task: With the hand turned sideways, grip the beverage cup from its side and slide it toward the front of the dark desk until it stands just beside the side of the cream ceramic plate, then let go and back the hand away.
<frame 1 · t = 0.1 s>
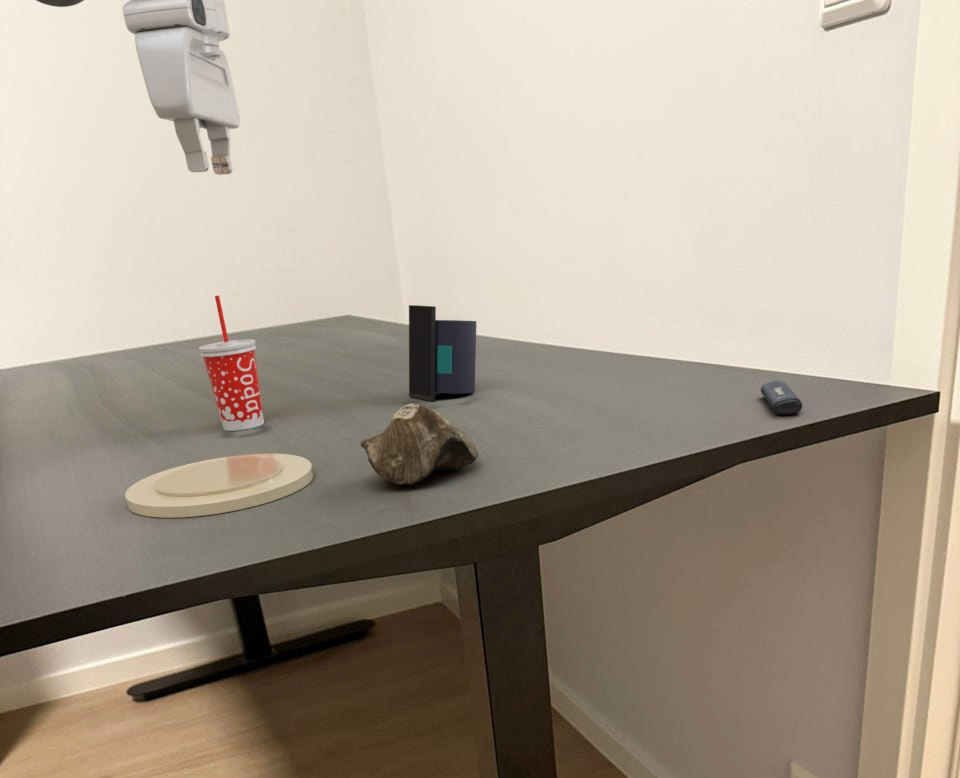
hand: (212, 173, 101), 26 cm above the table, tool pointing down, fingers open, 8 cm apart
beverage cup: (244, 427, 108), on the table
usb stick: (780, 407, 90), on the table
plate: (222, 488, 83), on the table
fossilized seashell: (424, 478, 80), on the table
speaker: (448, 395, 113), on the table
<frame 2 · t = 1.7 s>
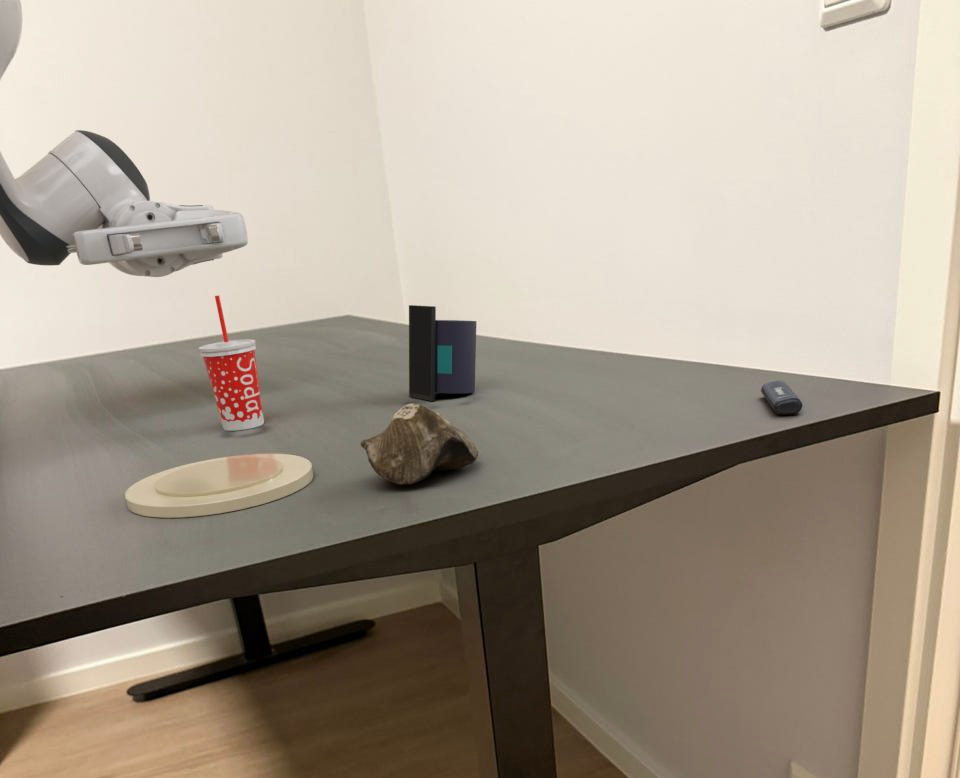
hand: (176, 237, 109), 20 cm above the table, tool horizontal, fingers open, 8 cm apart
nothing on the table moved.
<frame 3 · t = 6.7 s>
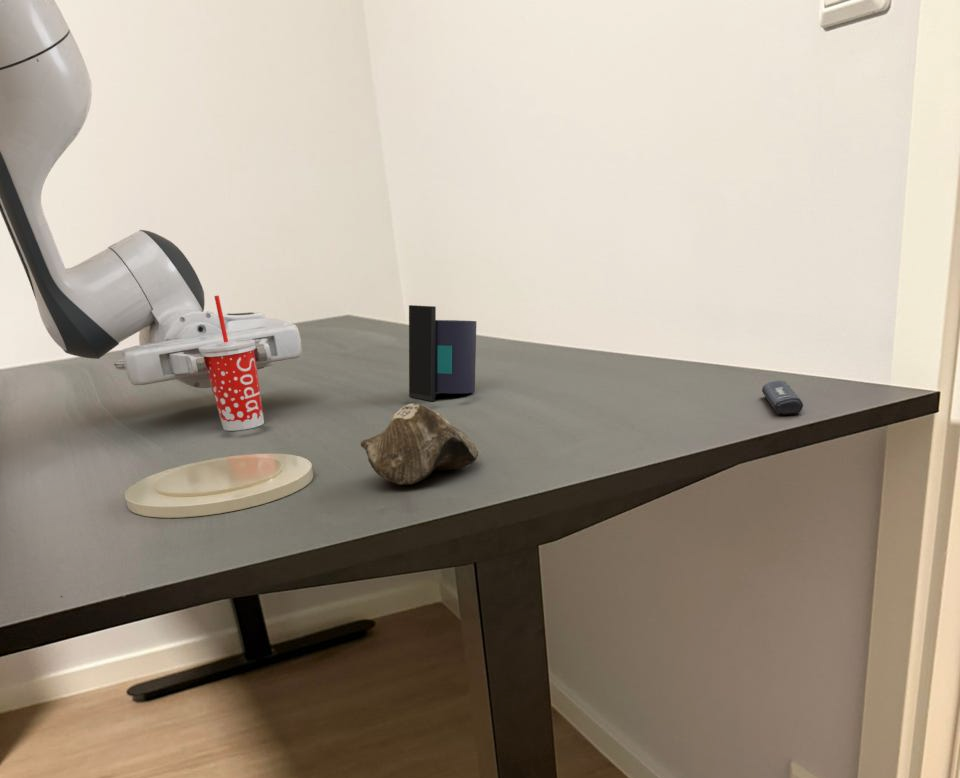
hand: (232, 358, 104), 8 cm above the table, tool horizontal, fingers closed on beverage cup, 6 cm apart
beverage cup: (244, 427, 108), on the table, touching gripper
everything else where it was.
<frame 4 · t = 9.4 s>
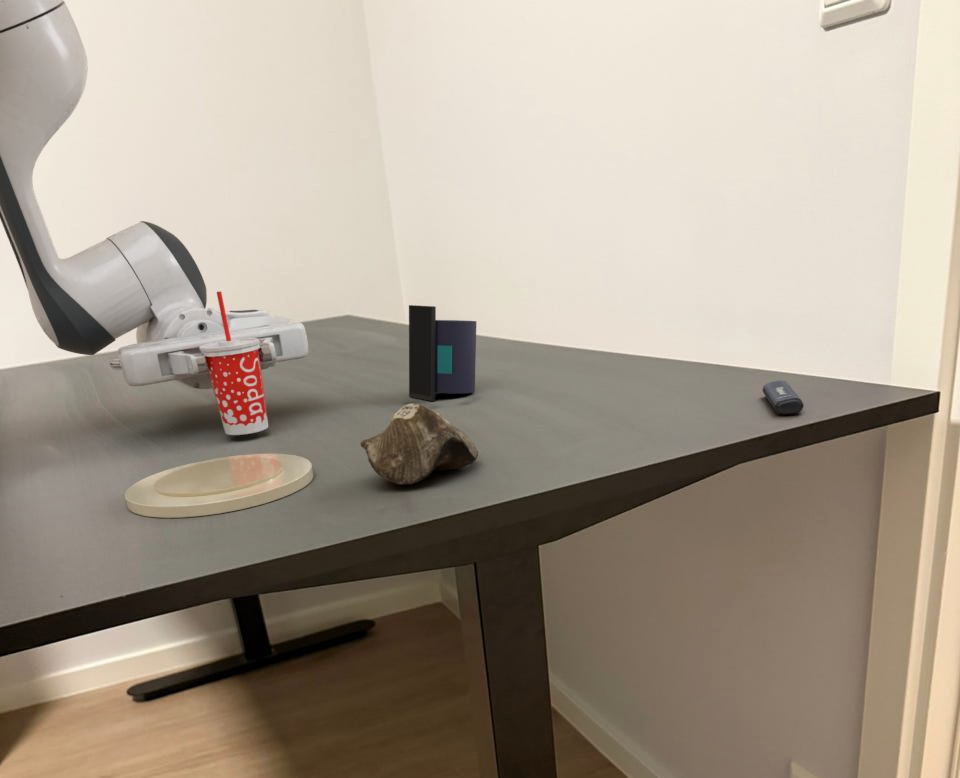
hand: (235, 358, 98), 8 cm above the table, tool horizontal, fingers closed on beverage cup, 6 cm apart
beverage cup: (247, 431, 102), point 1 cm above the table, touching gripper
everything else where it was.
when the fingers open (7 cm above the table, at t = 12.3 s): beverage cup stays where it is, on the table.
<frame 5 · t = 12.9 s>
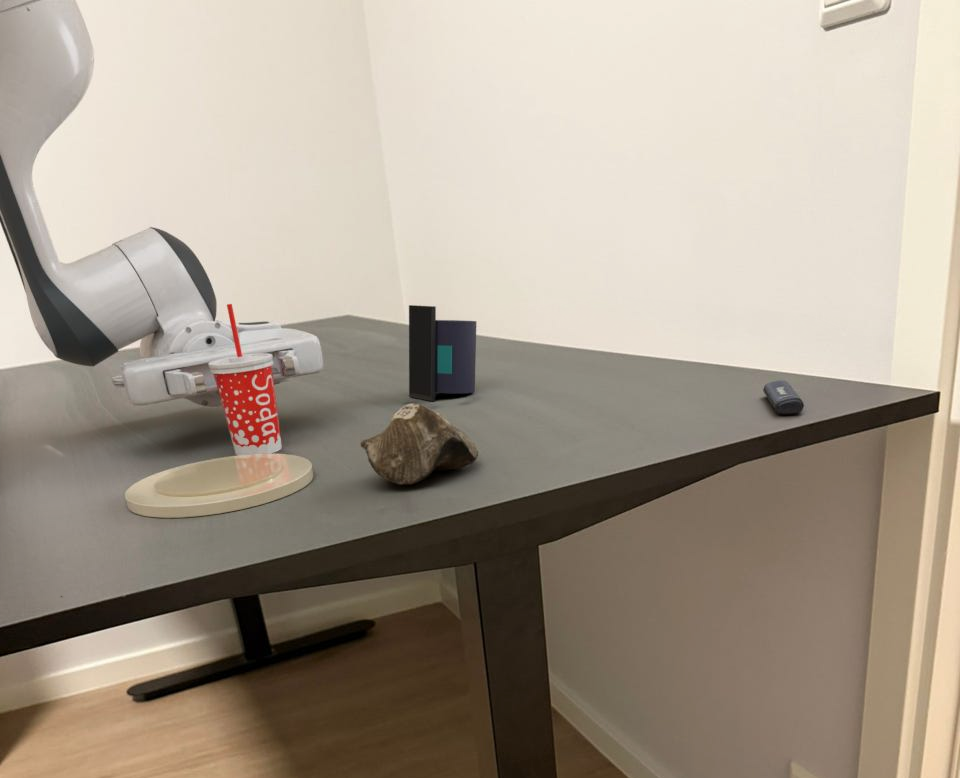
hand: (246, 375, 92), 8 cm above the table, tool horizontal, fingers open, 8 cm apart
beverage cup: (259, 452, 96), on the table
everything else where it was.
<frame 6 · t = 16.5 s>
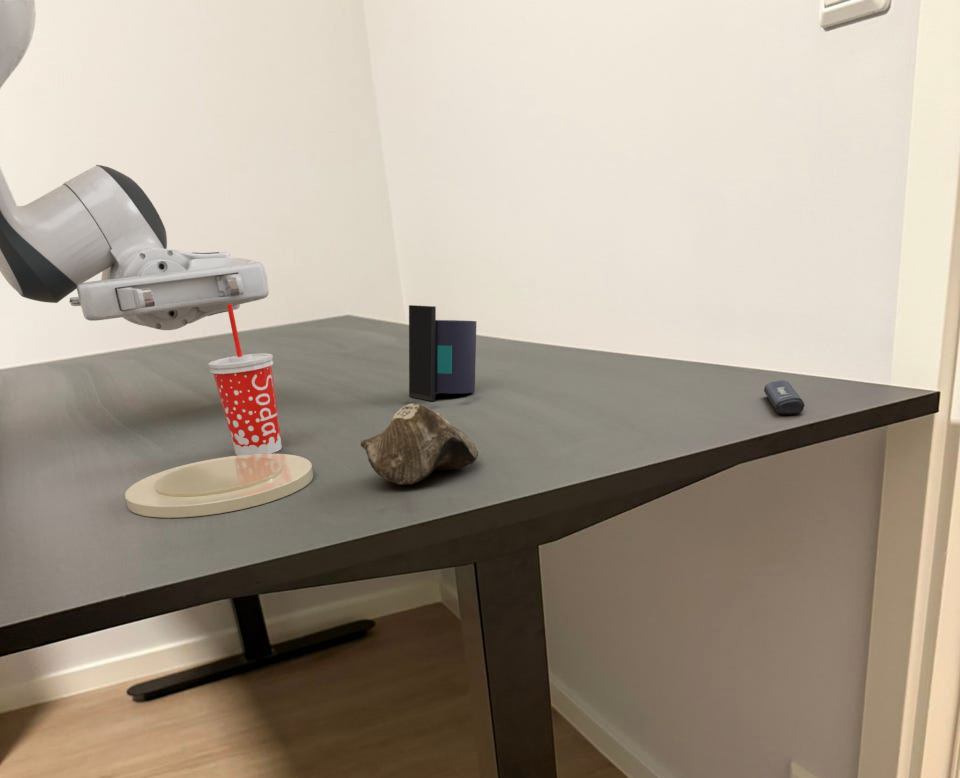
hand: (192, 292, 99), 15 cm above the table, tool horizontal, fingers open, 8 cm apart
nothing on the table moved.
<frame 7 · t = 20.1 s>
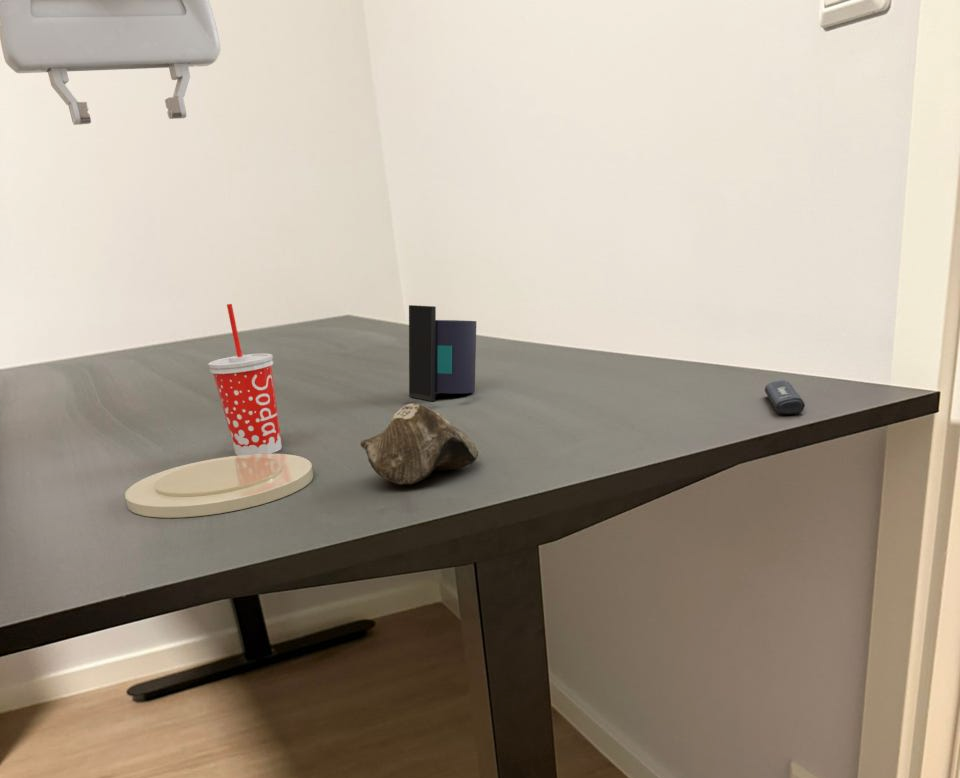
hand: (131, 121, 95), 31 cm above the table, tool pointing down, fingers open, 8 cm apart
nothing on the table moved.
at the end: beverage cup inside the target area on the table beside the plate (0.0 cm from its centre), on the table; beverage cup tilted 0°; the gripper is holding nothing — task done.
